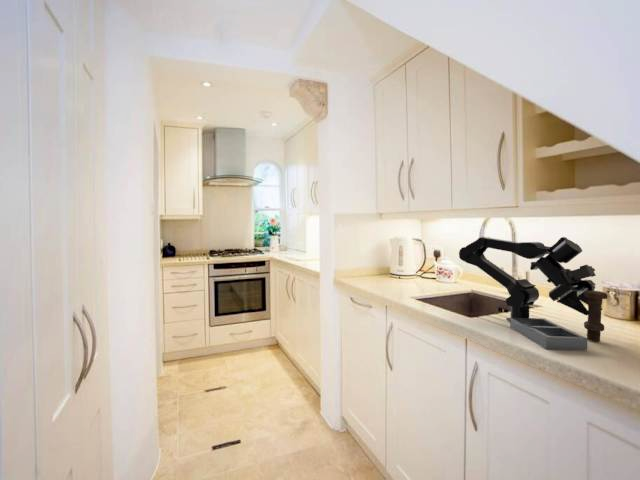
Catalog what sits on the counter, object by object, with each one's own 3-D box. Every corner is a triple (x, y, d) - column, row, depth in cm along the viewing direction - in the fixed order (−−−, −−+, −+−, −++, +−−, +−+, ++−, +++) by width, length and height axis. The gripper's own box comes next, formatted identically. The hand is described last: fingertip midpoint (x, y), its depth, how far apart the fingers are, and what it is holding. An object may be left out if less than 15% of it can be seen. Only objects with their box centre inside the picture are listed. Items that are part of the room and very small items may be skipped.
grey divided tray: (510, 327, 112) (510, 317, 112) (544, 328, 111) (544, 318, 111) (545, 349, 92) (546, 337, 92) (587, 350, 91) (587, 338, 91)
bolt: (595, 337, 102) (597, 290, 101) (610, 343, 97) (612, 293, 96) (577, 337, 102) (579, 290, 101) (591, 343, 97) (593, 293, 96)
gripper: (561, 257, 98) (606, 300, 89) (588, 255, 108) (631, 294, 99) (532, 279, 105) (571, 322, 96) (560, 275, 115) (598, 314, 106)
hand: (594, 312), depth 99 cm, fingers open, 9 cm apart
